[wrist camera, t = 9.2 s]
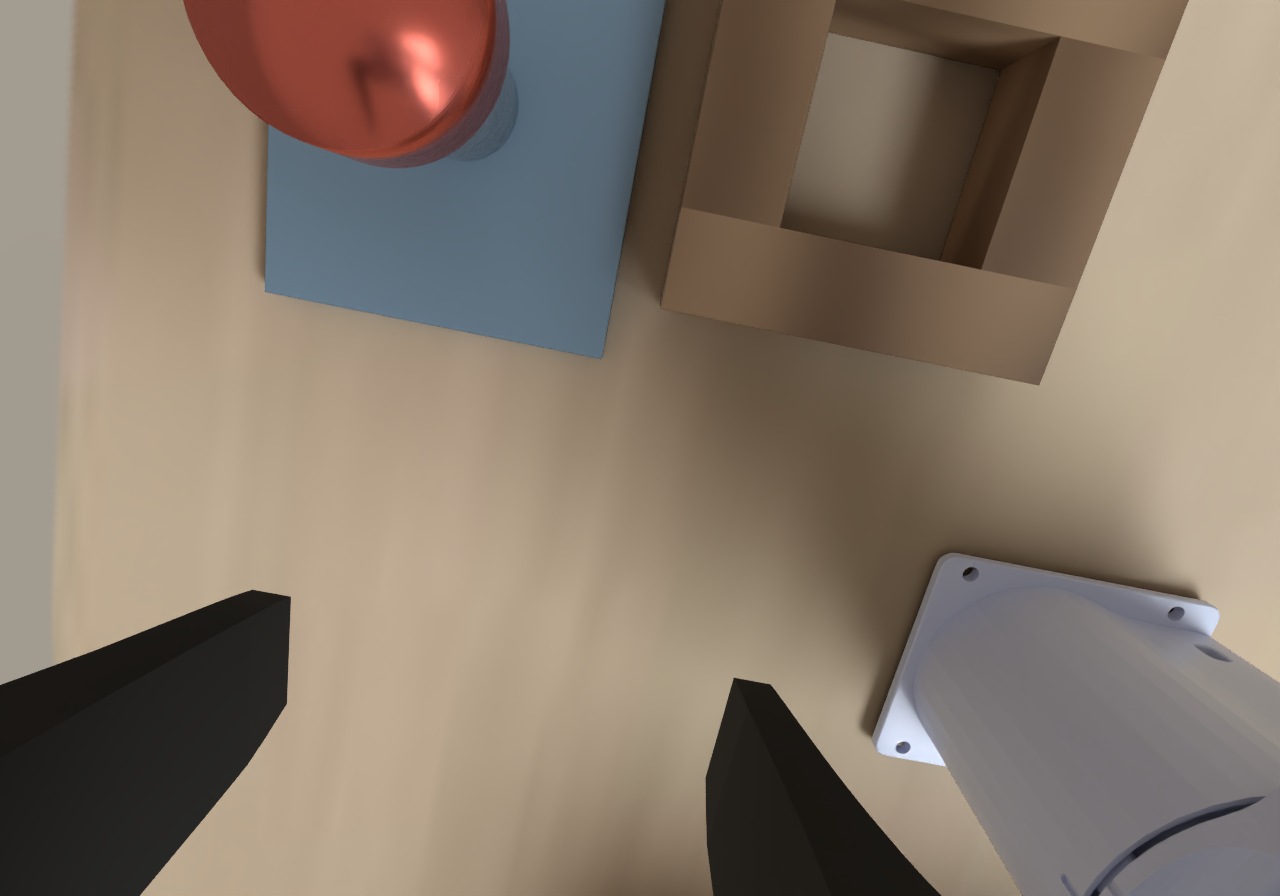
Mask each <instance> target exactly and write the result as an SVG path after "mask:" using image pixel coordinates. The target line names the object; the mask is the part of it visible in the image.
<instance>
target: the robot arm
mask: <svg viewBox="0 0 1280 896" xmlns="http://www.w3.org/2000/svg"><path fill="white" fill-rule="evenodd" d="M969 567H973V570H972V572H971V573H970V574H968V575H966V576H963V572H964V571H965V569H967V568H969ZM290 604H291V597H289V596H283V595H278V594H272V593H267V592H261V591H256V590H250V591H247V592H244V593H241V594H238V595H235V596H232V597H230V598H227V599H224V600H222V601H219V602H216V603H214V604H211V605H209V606H206V607H203V608H201V609H198V610H196V611H193V612H191V613H188V614H186V615H183V616H181V617H178V618H176V619H173V620H171V621H168V622H166V623H163V624H161V625H158V626H156V627H153V628H151V629H148V630H146V631H143V632H141V633H138V634H136V635H133V636H131V637H128V638H126V639H123V640H121V641H118V642H115V643H113V644H110V645H108V646H105V647H103V648H100V649H98V650H95V651H93V652H90V653H87V654H84V655H82V656H79V657H76V658H73V659H71V660H68V661H65V662H62V663H60V664H57V665H54V666H52V667H49V668H46V669H44V670H41V671H38V672H35V673H32V674H30V675H27V676H24V677H21V678H19V679H16V680H13V681H10V682H8V683H5V684H2V685H0V896H140V895H141V893H142V892H143V891H144V890H145V889H146V887H147V886H148V885H149V884H150V883H151V881H152V880H153V879H154V878H155V877H156V875H157V874H158V873H159V872H160V871H161V869H162V868H163V867H164V866H165V865H166V863H167V862H168V861H169V860H170V858H171V857H172V856H173V855H174V854H175V852H176V851H177V850H178V849H179V848H180V846H181V845H182V844H183V843H184V842H185V840H186V839H187V838H188V837H189V836H190V834H191V833H192V832H193V831H194V830H195V828H196V827H197V826H198V825H199V824H200V822H201V821H202V820H203V819H204V818H205V816H206V815H207V814H208V813H209V811H210V810H211V809H212V808H213V807H214V805H215V804H216V803H217V802H218V800H219V799H220V798H221V797H222V796H223V794H224V793H225V792H226V791H227V789H228V788H229V787H230V786H231V785H232V783H233V782H234V781H235V780H236V778H237V777H238V776H239V775H240V773H241V772H242V771H243V770H244V768H245V767H246V766H247V765H248V763H249V762H250V760H251V759H252V757H253V756H254V754H255V753H256V751H257V750H258V748H259V747H260V745H261V744H262V742H263V741H264V739H265V738H266V736H267V734H268V733H269V731H270V730H271V728H272V726H273V725H274V723H275V722H276V720H277V718H278V717H279V715H280V714H281V712H282V710H283V709H284V707H285V706H286V704H287V684H288V657H289V630H290ZM1172 608H1174V609H1173V611H1172V612H1170V613H1168V612H1169V611H1170V610H1171V609H1172ZM1219 617H1220V614H1219V610H1218V609H1217V608H1216V607H1215V606H1213V605H1211V604H1210V603H1208V602H1205V601H1203V600H1198V599H1193V598H1188V597H1183V596H1177V595H1172V594H1167V593H1162V592H1157V591H1151V590H1146V589H1141V588H1136V587H1131V586H1125V585H1120V584H1115V583H1110V582H1105V581H1099V580H1094V579H1089V578H1084V577H1079V576H1073V575H1068V574H1063V573H1058V572H1053V571H1047V570H1042V569H1037V568H1032V567H1027V566H1021V565H1016V564H1011V563H1006V562H1001V561H995V560H990V559H985V558H980V557H975V556H969V555H964V554H959V553H948V554H945V555H943V556H942V557H941V558H940V559H939V560H938V562H937V563H936V566H935V569H934V571H933V574H932V577H931V579H930V582H929V585H928V587H927V590H926V593H925V596H924V598H923V601H922V604H921V606H920V609H919V612H918V614H917V617H916V620H915V623H914V625H913V628H912V631H911V633H910V636H909V639H908V641H907V644H906V647H905V650H904V652H903V655H902V658H901V660H900V663H899V666H898V668H897V671H896V674H895V676H894V679H893V682H892V685H891V687H890V690H889V693H888V695H887V698H886V701H885V703H884V706H883V709H882V712H881V714H880V717H879V720H878V722H877V725H876V728H875V730H874V733H873V736H872V741H873V744H874V746H875V748H876V750H877V751H878V752H879V753H880V754H882V755H885V756H891V757H896V758H902V759H907V760H913V761H919V762H924V763H930V764H935V765H941V766H946V767H947V768H948V770H949V772H950V773H951V775H952V777H953V778H954V780H955V782H956V783H957V785H958V787H959V789H960V790H961V792H962V794H963V795H964V797H965V799H966V800H967V802H968V804H969V806H970V807H971V809H972V811H973V812H974V814H975V816H976V817H977V819H978V821H979V823H980V824H981V826H982V828H983V829H984V831H985V833H986V834H987V836H988V838H989V840H990V841H991V843H992V845H993V846H994V848H995V850H996V851H997V853H998V855H999V857H1000V858H1001V860H1002V862H1003V863H1004V865H1005V867H1006V869H1007V870H1008V872H1009V874H1010V875H1011V877H1012V879H1013V880H1014V882H1015V884H1016V886H1017V887H1018V889H1019V891H1020V892H1021V894H1022V896H1280V683H1279V682H1278V681H1276V680H1275V679H1273V678H1272V677H1270V676H1269V675H1267V674H1265V673H1264V672H1262V671H1261V670H1259V669H1258V668H1256V667H1255V666H1253V665H1252V664H1250V663H1249V662H1247V661H1246V660H1244V659H1243V658H1241V657H1240V656H1238V655H1237V654H1235V653H1234V652H1232V651H1231V650H1229V649H1228V648H1226V647H1225V646H1223V645H1222V644H1220V643H1219V642H1217V641H1216V640H1214V639H1213V638H1211V637H1210V636H1211V634H1212V632H1213V630H1214V629H1215V627H1216V625H1217V623H1218V621H1219ZM900 742H905V743H904V744H902V745H897V744H898V743H900ZM706 825H707V848H708V856H709V864H710V872H711V880H712V887H713V895H714V896H941V895H940V894H939V893H938V892H937V891H936V890H935V889H934V888H933V887H932V886H931V885H930V884H929V883H928V882H927V881H926V880H925V878H924V877H923V876H922V875H921V874H920V873H919V872H918V871H917V870H916V869H915V867H914V866H913V865H912V864H911V863H910V862H909V861H908V860H907V859H906V857H905V856H904V855H903V854H902V853H901V852H900V851H899V849H898V848H897V847H896V846H895V845H894V844H893V842H892V841H891V840H890V839H889V838H888V837H887V835H886V834H885V833H884V832H883V831H882V829H881V828H880V827H879V826H878V825H877V824H876V822H875V821H874V820H873V819H872V818H871V817H870V815H869V814H868V813H867V812H866V810H865V809H864V808H863V807H862V806H861V804H860V803H859V802H858V801H857V799H856V798H855V797H854V796H853V794H852V793H851V792H850V791H849V789H848V788H847V787H846V785H845V784H844V783H843V782H842V780H841V779H840V778H839V776H838V775H837V774H836V773H835V771H834V770H833V769H832V767H831V766H830V765H829V763H828V762H827V761H826V759H825V758H824V757H823V755H822V754H821V753H820V751H819V750H818V749H817V747H816V746H815V745H814V743H813V742H812V740H811V739H810V738H809V736H808V735H807V734H806V732H805V731H804V729H803V728H802V727H801V725H800V724H799V723H798V721H797V720H796V718H795V717H794V716H793V714H792V713H791V711H790V710H789V709H788V707H787V706H786V705H785V703H784V702H783V700H782V699H781V698H780V696H779V695H778V694H777V692H776V691H775V690H774V688H773V687H772V686H771V685H770V684H765V683H759V682H754V681H748V680H743V679H737V678H734V680H733V683H732V687H731V690H730V694H729V697H728V701H727V704H726V708H725V711H724V715H723V718H722V722H721V726H720V729H719V733H718V736H717V740H716V743H715V747H714V750H713V754H712V757H711V761H710V764H709V768H708V771H707V775H706Z"/></svg>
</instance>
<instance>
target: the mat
mask: <svg viewBox="0 0 1280 896" xmlns="http://www.w3.org/2000/svg"><path fill="white" fill-rule="evenodd" d="M506 3H507V10H508V16H509V26H510V49H509V61H508V67H509V68H510V70H511V72H512V75H513V77H514V79H515V83H516V86H517V92H518V103H519V105H518V115H517V120H516V123H515V126H514V129H513V131H512V133H511V135H510V136H509V138H508V140H507V141H506V142H505V143H504V145H503V146H502V147H501V148H500V149H498V150H497V151H496V152H495V153H493V154H491V155H490V156H488V157H485V158H483V159H479V160H475V161H459V160H454V159H451V158H448V157H444V158H442V159H440V160H437V161H435V162H432V163H429V164H426V165H422V166H418V167H411V168H384V167H377V166H372V165H368V164H365V163H361V162H358V161H355V160H352V159H349V158H347V157H344V156H341V155H338V154H336V153H333V152H330V151H327V150H324V149H322V148H319V147H316V146H313V145H311V144H308V143H305V142H302V141H300V140H298V139H295V138H293V137H291V136H289V135H286V134H284V133H282V132H281V131H279V130H277V129H276V128H274V127H272V126H271V125H269V124H268V165H267V214H266V262H265V292H267V293H273V294H278V295H283V296H288V297H293V298H298V299H303V300H308V301H313V302H318V303H323V304H328V305H333V306H338V307H343V308H348V309H353V310H358V311H363V312H368V313H373V314H378V315H383V316H388V317H393V318H398V319H403V320H408V321H413V322H418V323H423V324H428V325H433V326H438V327H443V328H448V329H453V330H458V331H463V332H468V333H473V334H478V335H483V336H488V337H493V338H498V339H503V340H508V341H513V342H518V343H523V344H528V345H533V346H538V347H543V348H548V349H553V350H558V351H563V352H568V353H573V354H578V355H583V356H588V357H593V358H598V359H602V357H603V351H604V346H605V340H606V335H607V329H608V324H609V318H610V312H611V307H612V301H613V296H614V290H615V284H616V279H617V273H618V268H619V262H620V257H621V251H622V245H623V240H624V234H625V229H626V223H627V217H628V212H629V206H630V201H631V195H632V189H633V184H634V178H635V173H636V167H637V162H638V156H639V150H640V145H641V139H642V134H643V128H644V122H645V117H646V111H647V106H648V100H649V95H650V89H651V83H652V78H653V72H654V67H655V61H656V55H657V50H658V44H659V39H660V33H661V28H662V22H663V16H664V11H665V5H666V0H506Z"/></svg>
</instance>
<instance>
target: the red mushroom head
mask: <svg viewBox="0 0 1280 896" xmlns="http://www.w3.org/2000/svg"><path fill="white" fill-rule="evenodd" d="M183 1H184V4H185V8H186V11H187V15H188V18H189V21H190V23H191V26H192V28H193V31H194V33H195V35H196V38H197V40H198V42H199V44H200V46H201V48H202V50H203V52H204V53H205V55H206V57H207V59H208V61H209V62H210V64H211V65H212V67H213V68H214V70H215V71H216V73H217V74H218V76H219V77H220V79H221V80H222V81H223V82H224V83H225V85H226V86H227V87H228V88H229V89H230V91H231V92H232V93H233V94H234V95H235V96H236V97H237V98H238V99H239V100H240V101H241V102H242V103H243V104H244V105H245V106H246V107H247V108H248V109H249V110H250V111H252V112H253V113H254V114H255V115H257V116H258V117H259V118H261V119H262V120H263V121H265V122H266V123H267V124H269V125H271V126H272V127H274V128H276V129H277V130H279V131H281V132H282V133H284V134H286V135H289V136H291V137H293V138H295V139H298V140H300V141H302V142H305V143H308V144H311V145H313V146H316V147H319V148H322V149H324V150H327V151H330V152H333V153H336V154H338V155H341V156H344V157H347V158H349V159H352V160H355V161H358V162H361V163H365V164H368V165H372V166H377V167H384V168H411V167H418V166H422V165H426V164H429V163H432V162H435V161H437V160H440V159H442V158H444V157H448V158H451V159H454V160H459V161H475V160H479V159H483V158H485V157H488V156H490V155H491V154H493V153H495V152H496V151H497V150H498V149H500V148H501V147H502V146H503V145H504V143H505V142H506V141H507V140H508V138H509V136H510V135H511V133H512V131H513V129H514V126H515V123H516V120H517V115H518V105H519V103H518V92H517V86H516V83H515V79H514V77H513V75H512V72H511V70H510V68H509V67H508V61H509V49H510V26H509V16H508V10H507V3H506V0H183Z"/></svg>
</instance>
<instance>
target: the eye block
mask: <svg viewBox="0 0 1280 896" xmlns="http://www.w3.org/2000/svg"><path fill="white" fill-rule="evenodd" d="M1188 1H1189V0H721V2H720V7H719V12H718V17H717V22H716V27H715V32H714V37H713V42H712V47H711V52H710V57H709V62H708V67H707V72H706V77H705V82H704V87H703V92H702V97H701V102H700V107H699V112H698V117H697V122H696V127H695V131H694V136H693V141H692V146H691V151H690V156H689V161H688V166H687V171H686V176H685V181H684V186H683V191H682V196H681V201H680V206H679V211H678V216H677V221H676V226H675V231H674V236H673V241H672V246H671V251H670V256H669V261H668V266H667V271H666V276H665V281H664V286H663V291H662V296H661V301H660V306H661V309H665V310H670V311H675V312H680V313H685V314H690V315H695V316H700V317H705V318H710V319H714V320H719V321H724V322H729V323H734V324H739V325H744V326H749V327H754V328H759V329H764V330H769V331H774V332H778V333H783V334H788V335H793V336H798V337H803V338H808V339H813V340H818V341H823V342H828V343H833V344H838V345H842V346H847V347H852V348H857V349H862V350H867V351H872V352H877V353H882V354H887V355H892V356H897V357H902V358H906V359H911V360H916V361H921V362H926V363H931V364H936V365H941V366H946V367H951V368H956V369H961V370H966V371H970V372H975V373H980V374H985V375H990V376H995V377H1000V378H1005V379H1010V380H1015V381H1020V382H1025V383H1030V384H1034V385H1039V384H1040V382H1041V379H1042V377H1043V374H1044V372H1045V369H1046V366H1047V364H1048V361H1049V359H1050V356H1051V354H1052V351H1053V348H1054V346H1055V343H1056V341H1057V338H1058V335H1059V333H1060V330H1061V328H1062V325H1063V323H1064V320H1065V317H1066V315H1067V312H1068V310H1069V307H1070V305H1071V302H1072V299H1073V297H1074V294H1075V292H1076V289H1077V287H1078V284H1079V281H1080V279H1081V276H1082V274H1083V271H1084V268H1085V266H1086V263H1087V261H1088V258H1089V256H1090V253H1091V250H1092V248H1093V245H1094V243H1095V240H1096V238H1097V235H1098V232H1099V230H1100V227H1101V225H1102V222H1103V220H1104V217H1105V214H1106V212H1107V209H1108V207H1109V204H1110V202H1111V199H1112V196H1113V194H1114V191H1115V189H1116V186H1117V183H1118V181H1119V178H1120V176H1121V173H1122V171H1123V168H1124V165H1125V163H1126V160H1127V158H1128V155H1129V153H1130V150H1131V147H1132V145H1133V142H1134V140H1135V137H1136V135H1137V132H1138V129H1139V127H1140V124H1141V122H1142V119H1143V116H1144V114H1145V111H1146V109H1147V106H1148V104H1149V101H1150V98H1151V96H1152V93H1153V91H1154V88H1155V86H1156V83H1157V80H1158V78H1159V75H1160V73H1161V70H1162V68H1163V65H1164V62H1165V60H1166V57H1167V55H1168V52H1169V49H1170V47H1171V44H1172V42H1173V39H1174V37H1175V34H1176V31H1177V29H1178V26H1179V24H1180V21H1181V19H1182V16H1183V13H1184V11H1185V8H1186V6H1187V3H1188ZM828 32H830V33H835V34H839V35H844V36H848V37H853V38H857V39H862V40H866V41H871V42H875V43H880V44H884V45H889V46H893V47H898V48H903V49H907V50H912V51H916V52H921V53H925V54H930V55H934V56H939V57H943V58H948V59H952V60H957V61H961V62H966V63H970V64H975V65H979V66H984V67H989V68H993V69H998V70H1001V72H1000V76H999V79H998V82H997V85H996V88H995V91H994V94H993V97H992V100H991V103H990V107H989V110H988V113H987V116H986V119H985V122H984V125H983V128H982V131H981V135H980V138H979V141H978V144H977V147H976V150H975V153H974V156H973V159H972V162H971V166H970V169H969V172H968V175H967V178H966V181H965V184H964V187H963V190H962V193H961V197H960V200H959V203H958V206H957V209H956V212H955V215H954V218H953V221H952V225H951V228H950V231H949V234H948V237H947V240H946V243H945V246H944V249H943V252H942V256H941V259H940V261H937V260H932V259H927V258H923V257H918V256H913V255H908V254H904V253H899V252H894V251H889V250H884V249H880V248H875V247H870V246H865V245H861V244H856V243H851V242H846V241H841V240H837V239H832V238H827V237H822V236H818V235H813V234H808V233H803V232H798V231H794V230H789V229H784V228H780V225H781V221H782V217H783V213H784V209H785V205H786V201H787V197H788V193H789V189H790V185H791V181H792V177H793V172H794V168H795V164H796V160H797V156H798V152H799V148H800V144H801V140H802V136H803V132H804V128H805V124H806V120H807V116H808V112H809V108H810V104H811V100H812V96H813V91H814V87H815V83H816V79H817V75H818V71H819V67H820V63H821V59H822V55H823V51H824V47H825V43H826V39H827V35H828Z"/></svg>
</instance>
